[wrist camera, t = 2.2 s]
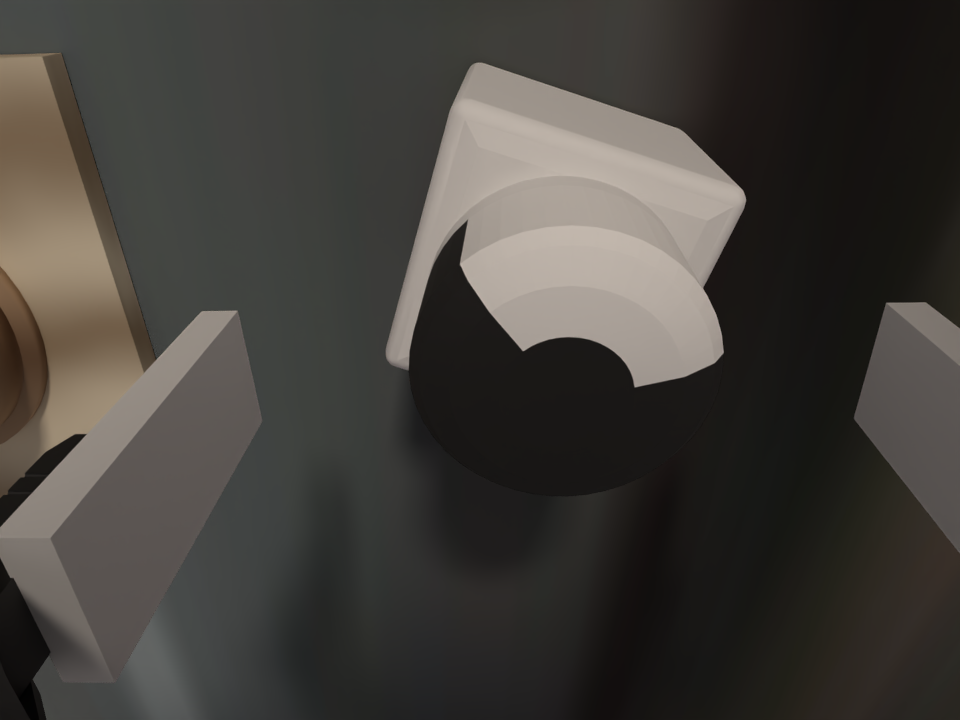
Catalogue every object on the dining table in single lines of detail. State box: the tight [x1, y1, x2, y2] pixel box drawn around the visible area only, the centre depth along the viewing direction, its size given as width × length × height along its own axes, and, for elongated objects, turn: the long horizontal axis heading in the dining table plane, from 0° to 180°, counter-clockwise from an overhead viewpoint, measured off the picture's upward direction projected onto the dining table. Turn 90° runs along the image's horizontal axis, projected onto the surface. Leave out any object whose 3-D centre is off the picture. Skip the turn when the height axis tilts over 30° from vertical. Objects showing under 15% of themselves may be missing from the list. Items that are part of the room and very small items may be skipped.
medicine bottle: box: [386, 63, 746, 496], centre depth 18 cm, size 7×7×12 cm
